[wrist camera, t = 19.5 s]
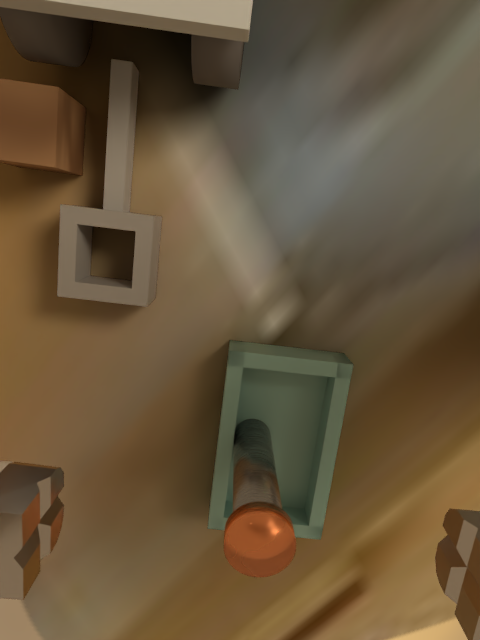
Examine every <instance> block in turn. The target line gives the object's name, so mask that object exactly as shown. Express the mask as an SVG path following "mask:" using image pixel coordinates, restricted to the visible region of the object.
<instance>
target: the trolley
mask: <svg viewBox="0 0 480 640" xmlns="http://www.w3.org/2000/svg"><path fill="white" fill-rule="evenodd" d="M252 4H253V0H0V17H1V20H2V22H3V25H4V28H5V30H6V32H7V35H8V37H9V38H10V40H11V42H12V44H13V45H14V47H15V49H16V50H17V51H18V52H19V54H20V55H21V56H23V57H24V58H25V59H27V60H30V61H35V62H43V63H50V64H57V65H64V66H71V67H79V66H80V65H81V64H82V63H83V62H84V60H85V59H86V56H87V54H88V50H89V47H90V42H91V36H92V26H93V20H95V21H102V22H109V23H116V24H123V25H130V26H137V27H144V28H151V29H158V30H165V31H172V32H179V33H186V34H191V60H192V75H193V81H194V83H195V84H201V85H208V86H216V87H223V88H230V89H237V90H238V88H239V82H240V74H241V66H242V58H243V49H244V42H248V39H249V30H250V21H251V12H252ZM138 81H139V71H138V70H137V68H136V66H135V65H134V63H133V62H130V61H123V60H115V59H111V73H110V91H109V109H108V128H107V146H106V164H105V182H104V200H103V209H99V208H91V207H83V206H73V205H62V204H60V230H59V259H58V288H57V296H59V297H67V298H76V299H84V300H93V301H102V302H110V303H119V304H127V305H136V306H144V307H147V306H148V305H149V304H150V303H151V302H152V301H153V300H154V299H155V297H156V285H157V273H158V261H159V249H160V237H161V225H162V216H154V215H146V214H138V213H130V200H131V185H132V170H133V155H134V141H135V126H136V111H137V96H138ZM93 226H96V227H104V228H112V229H120V230H128V231H136V235H135V249H134V263H133V277H132V281H130V280H122V279H113V278H105V277H97V276H90V271H91V251H92V232H93Z"/></svg>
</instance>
